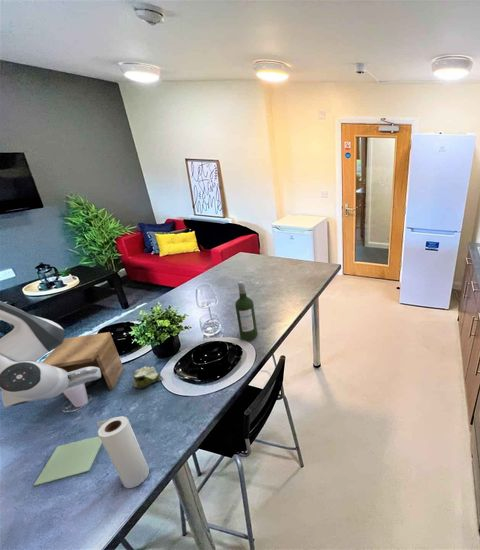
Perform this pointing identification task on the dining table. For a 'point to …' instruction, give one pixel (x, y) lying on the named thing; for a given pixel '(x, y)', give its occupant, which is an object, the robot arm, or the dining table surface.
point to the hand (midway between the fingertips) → (65, 386)
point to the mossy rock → (145, 377)
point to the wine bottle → (245, 314)
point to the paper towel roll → (123, 450)
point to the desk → (88, 356)
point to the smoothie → (77, 395)
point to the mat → (70, 460)
